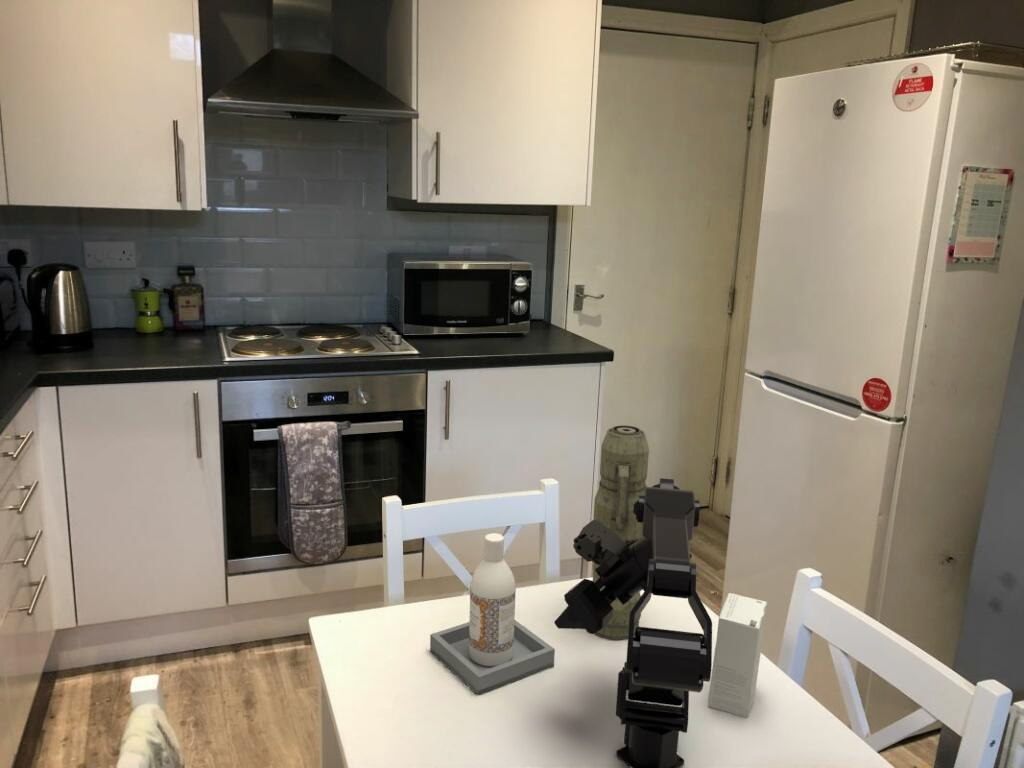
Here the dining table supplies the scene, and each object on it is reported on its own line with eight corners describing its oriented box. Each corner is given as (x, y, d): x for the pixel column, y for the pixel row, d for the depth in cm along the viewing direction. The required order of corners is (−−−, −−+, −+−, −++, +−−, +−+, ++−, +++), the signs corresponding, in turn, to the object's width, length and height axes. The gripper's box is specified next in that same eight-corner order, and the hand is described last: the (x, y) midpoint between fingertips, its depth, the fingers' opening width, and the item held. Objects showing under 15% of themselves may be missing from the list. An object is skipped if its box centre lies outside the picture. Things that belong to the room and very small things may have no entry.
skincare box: (717, 679, 128) (726, 590, 125) (758, 689, 126) (768, 599, 122) (706, 709, 121) (716, 615, 117) (749, 720, 118) (760, 625, 115)
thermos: (635, 610, 148) (649, 420, 140) (643, 646, 136) (659, 441, 128) (585, 608, 148) (596, 418, 140) (589, 644, 137) (601, 439, 129)
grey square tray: (553, 666, 130) (554, 649, 129) (478, 695, 122) (479, 677, 121) (502, 627, 141) (502, 610, 140) (430, 651, 133) (430, 634, 132)
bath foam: (461, 649, 132) (463, 531, 128) (500, 640, 136) (504, 524, 131) (480, 672, 126) (483, 549, 122) (520, 661, 130) (525, 541, 125)
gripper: (638, 489, 121) (567, 541, 130) (581, 534, 106) (504, 590, 114) (686, 552, 119) (611, 601, 128) (635, 608, 104) (553, 659, 112)
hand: (571, 610), depth 120 cm, fingers open, 9 cm apart
